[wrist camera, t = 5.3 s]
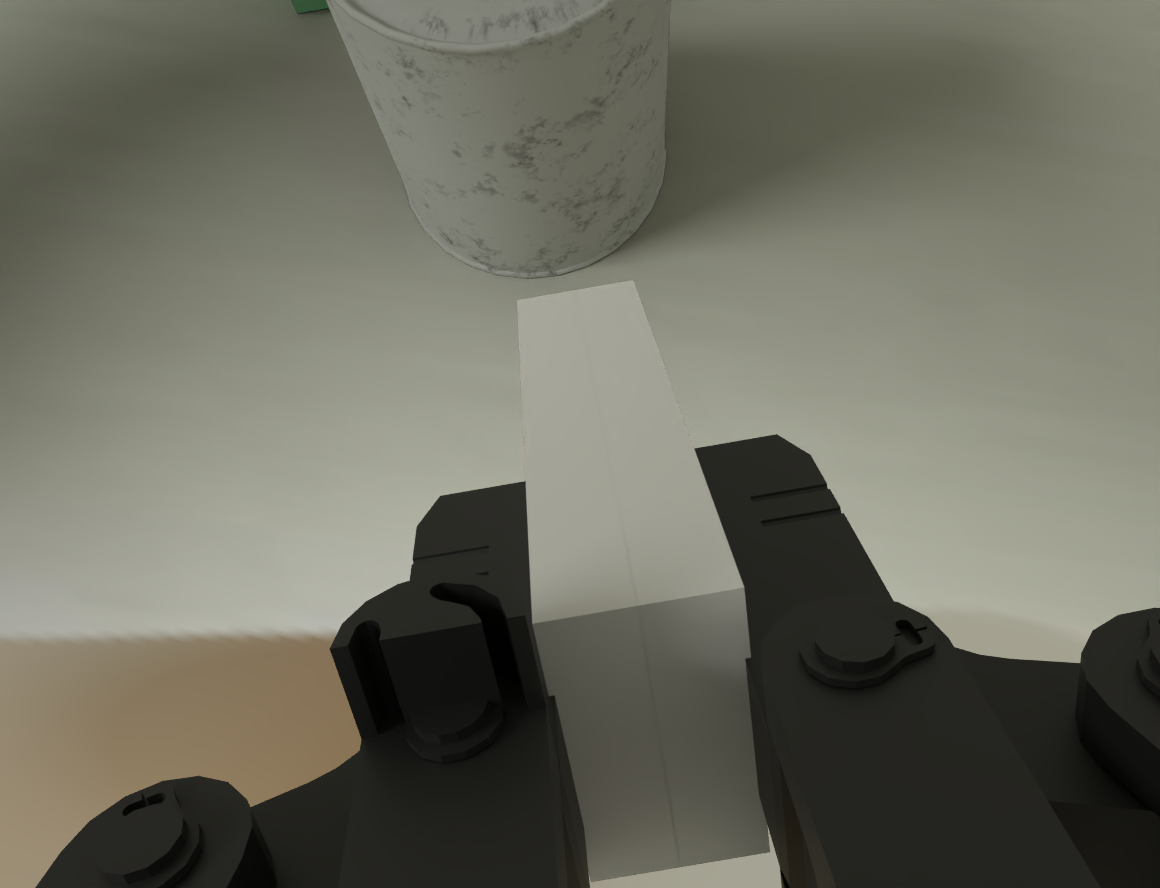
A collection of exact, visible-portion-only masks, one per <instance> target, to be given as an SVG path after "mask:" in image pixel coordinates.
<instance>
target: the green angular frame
mask: <svg viewBox="0 0 1160 888" xmlns="http://www.w3.org/2000/svg"><path fill="white" fill-rule="evenodd" d="M292 3H293V5H294V7H295V9H296V11H297V13H303V12H309V11H314V10H320V9H326V8H329V6H328V4H327V2H326V0H292Z"/></svg>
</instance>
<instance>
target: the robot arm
mask: <svg viewBox="0 0 1160 888" xmlns="http://www.w3.org/2000/svg"><path fill="white" fill-rule="evenodd" d="M517 312H518V333H519V354H520V375H521V396H522V417H523V438H524V459H525V481H524V482H519V483H513V484H507V485H501V486H495V487H490V488H484V489H478V490H472V491H466V492H461V493H455V494H449V495H443V496H440V497H439V498H438V500H437V501H436V502H435V503H434V505H433V506H432V507H431V509H430V510H429V511H428V513H427V514H426V515H425V517H424V518H423V519H422V521H421V522H420V523H419V524H418V526H417V530H416V537H415V545H414V553H413V563H414V564H413V565H412V568H411V575H410V581H407V582H404V583H400V584H397V585H395V586H394V587H392V588H390V589H388V590H386V591H384V592H383V593H381V594H379V595H377V596H375V597H373V598H372V599H370V600H368V601H366V602H365V603H364V604H363V605H362V606H361V607H360V608H359V609H358V610H356V611H355V612H354V613H353V614H352V615H351V616H350V617H349V618H348V619H347V620H346V621H345V622H344V623H343V624H342V625H341V627H340V629H339V631H338V633H337V635H336V637H335V639H334V641H333V643H332V645H331V647H330V651H331V654H332V656H333V659H334V662H335V665H336V668H337V670H338V674H339V676H340V679H341V682H342V685H343V688H344V691H345V693H346V696H347V699H348V702H349V705H350V707H351V710H352V713H353V716H354V719H355V721H356V724H357V727H358V730H359V733H360V736H361V739H362V740H361V746H360V751H359V752H358V753H356V754H355V755H354V756H352V757H351V758H350V759H348V760H347V761H345V762H344V763H343V764H341V765H340V766H339V767H337V768H336V769H334V770H332V771H330V772H328V773H326V774H324V775H322V776H321V777H319V778H317V779H315V780H313V781H311V782H309V783H307V784H304V785H302V786H300V787H297V788H295V789H293V790H290V791H288V792H286V793H283V794H281V795H279V796H276V797H274V798H272V799H269V800H267V801H265V802H262V803H260V804H257V805H255V806H253V807H250V805H249V803H248V801H247V799H246V798H245V797H243V795H241V794H240V793H239V792H238V791H237V790H236V789H235V788H234V787H233V786H232V785H230V784H229V783H228V782H225V781H220V780H215V779H211V778H206V777H201V776H195V777H188V778H181V779H174V780H167V781H162V782H160V783H157V784H155V785H152V786H150V787H147V788H145V789H143V790H140V791H138V792H135V793H133V794H130V795H128V796H126V797H124V798H122V799H121V800H120V801H118V802H117V803H115V804H114V805H112V806H111V807H109V808H108V809H106V810H105V811H104V812H102V813H101V814H99V815H98V816H96V817H95V818H93V819H92V820H91V821H89V822H88V824H86V826H85V827H84V828H83V829H82V830H81V831H80V832H79V833H78V834H77V835H76V836H75V837H74V839H73V840H72V841H71V842H70V843H69V844H68V845H67V846H66V847H65V848H64V849H63V850H62V851H61V853H60V854H59V856H58V857H57V858H56V860H55V861H54V862H53V864H52V866H51V867H50V868H49V870H48V871H47V872H46V874H45V875H44V877H43V878H42V879H41V881H40V882H39V884H38V885H37V886H36V888H590V885H589V876H590V880H591V882H594V881H600V880H606V879H612V878H618V877H624V876H630V875H636V874H642V873H648V872H654V871H660V870H665V869H672V868H678V867H683V866H690V865H696V864H702V863H708V862H713V861H720V860H725V859H731V858H737V857H743V856H749V855H755V854H761V853H767V852H770V848H769V837H768V828H769V831H770V835H771V838H772V842H773V845H774V848H775V851H776V855H777V858H778V862H779V865H780V872H781V883H782V888H1160V608H1151V609H1146V610H1141V611H1136V612H1131V613H1126V614H1121V615H1117V616H1116V617H1114V618H1113V619H1111V620H1109V621H1108V622H1106V623H1104V624H1103V625H1101V626H1100V627H1098V628H1096V629H1095V630H1093V631H1092V633H1091V635H1090V637H1089V639H1088V641H1087V643H1086V645H1085V647H1084V649H1083V651H1082V653H1081V662H1080V663H1066V662H1050V661H1035V660H1019V659H1007V658H1000V657H993V656H985V655H979V654H975V653H972V652H969V651H965V650H962V649H959V648H955V647H954V646H953V645H952V643H951V641H950V640H949V638H948V637H947V636H946V635H945V634H944V633H943V632H942V631H941V630H940V629H939V628H938V627H937V626H936V625H935V624H934V623H933V622H932V621H931V620H930V619H929V618H928V617H927V616H925V615H923V614H921V613H919V612H917V611H915V610H913V609H911V608H909V607H907V606H905V605H903V604H901V603H899V602H894V601H893V599H892V597H891V596H890V594H889V592H888V590H887V589H886V587H885V585H884V583H883V582H882V580H881V578H880V576H879V575H878V573H877V571H876V569H875V567H874V566H873V564H872V562H871V560H870V559H869V557H868V555H867V553H866V552H865V550H864V548H863V546H862V545H861V543H860V541H859V539H858V538H857V536H856V534H855V532H854V531H853V529H852V527H851V525H850V524H849V522H848V520H847V518H846V517H845V515H844V513H843V514H841V510H840V506H839V504H838V502H837V501H836V499H835V497H834V495H833V494H832V492H831V490H830V489H828V488H827V483H826V481H825V480H824V478H823V476H822V474H821V473H820V471H819V469H818V467H817V466H816V464H815V462H814V460H813V459H812V457H811V455H810V454H808V453H806V452H805V451H803V450H801V449H800V448H798V447H797V446H795V445H793V444H792V443H790V442H788V441H787V440H785V439H784V438H782V437H780V436H779V435H777V434H776V435H771V436H765V437H759V438H753V439H747V440H742V441H736V442H730V443H724V444H718V445H713V446H707V447H701V448H695V449H694V447H693V444H692V441H691V439H690V436H689V433H688V430H687V427H686V425H685V422H684V419H683V416H682V414H681V411H680V408H679V405H678V403H677V400H676V397H675V394H674V391H673V389H672V386H671V383H670V380H669V378H668V375H667V372H666V369H665V367H664V364H663V361H662V358H661V355H660V353H659V350H658V347H657V344H656V342H655V339H654V336H653V333H652V331H651V328H650V325H649V322H648V319H647V317H646V314H645V311H644V308H643V306H642V303H641V300H640V297H639V295H638V292H637V289H636V286H635V283H634V281H633V280H630V281H624V282H618V283H612V284H607V285H601V286H595V287H589V288H584V289H578V290H572V291H566V292H561V293H555V294H549V295H544V296H538V297H532V298H526V299H521V300H517ZM767 824H768V827H767ZM588 872H589V874H588Z"/></svg>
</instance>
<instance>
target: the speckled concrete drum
mask: <svg viewBox="0 0 1160 888" xmlns="http://www.w3.org/2000/svg"><path fill="white" fill-rule="evenodd" d="M326 2H327V4H328V6H329V9H330V11H331V14H332V16H333V18H334V21H335V23H336V25H337V28H338V30H339V32H340V35H341V37H342V39H343V42H344V44H345V47H346V49H347V51H348V54H349V56H350V58H351V61H352V63H353V65H354V68H355V70H356V72H357V75H358V77H359V80H360V82H361V84H362V87H363V89H364V91H365V94H366V96H367V98H368V101H369V103H370V105H371V108H372V110H373V112H374V115H375V117H376V120H377V122H378V124H379V127H380V129H381V131H382V134H383V136H384V138H385V141H386V143H387V145H388V148H389V150H390V153H391V155H392V157H393V160H394V162H395V164H396V167H397V169H398V171H399V174H400V176H401V178H402V181H403V183H404V186H405V190H406V193H407V196H408V200H409V203H410V206H411V209H412V210H413V212H414V214H415V215H416V217H417V219H418V220H419V222H420V224H421V225H422V227H423V229H424V230H425V232H426V233H427V234H428V235H429V236H430V237H431V238H432V239H433V240H434V241H435V242H436V243H437V244H438V245H439V246H440V247H441V248H442V249H443V250H444V251H446V252H448V253H449V254H451V255H452V256H454V257H456V258H457V259H459V260H461V261H462V262H464V263H466V264H467V265H469V266H472V267H475V268H478V269H481V270H484V271H486V272H489V273H492V274H495V275H500V276H509V277H518V278H527V279H528V278H538V277H549V276H558V275H561V274H565V273H568V272H571V271H574V270H578V269H581V268H584V267H587V266H589V265H591V264H592V263H594V262H596V261H598V260H600V259H601V258H603V257H605V256H607V255H609V254H610V253H612V252H614V251H615V250H616V249H617V248H618V247H619V246H621V245H622V244H623V243H624V242H625V241H626V240H627V239H628V238H630V237H631V236H632V235H633V234H634V233H635V232H636V231H637V230H638V228H639V227H640V225H641V224H642V223H643V221H644V220H645V218H646V217H647V216H648V214H649V213H650V212H651V210H652V208H653V206H654V203H655V201H656V199H657V196H658V194H659V191H660V189H661V186H662V184H663V177H664V170H665V163H666V148H665V139H664V137H665V115H666V93H667V70H668V48H669V26H670V3H671V0H326Z"/></svg>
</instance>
